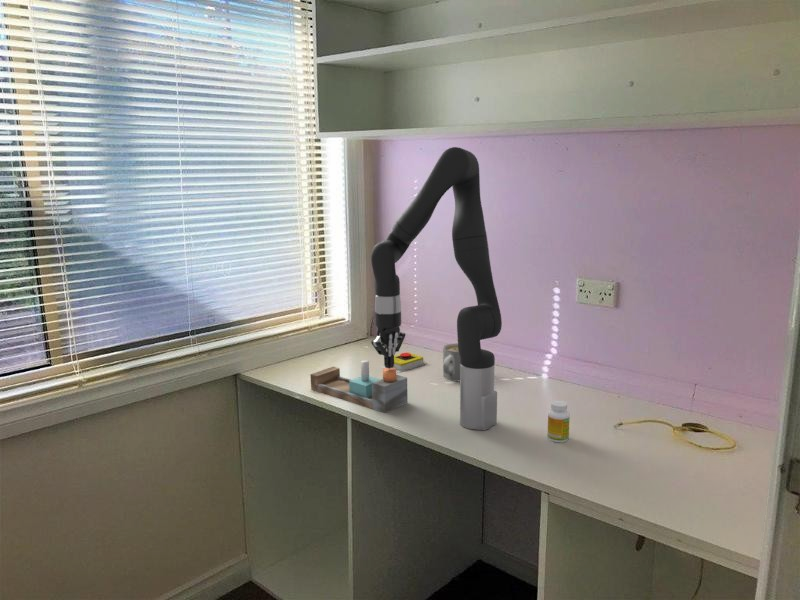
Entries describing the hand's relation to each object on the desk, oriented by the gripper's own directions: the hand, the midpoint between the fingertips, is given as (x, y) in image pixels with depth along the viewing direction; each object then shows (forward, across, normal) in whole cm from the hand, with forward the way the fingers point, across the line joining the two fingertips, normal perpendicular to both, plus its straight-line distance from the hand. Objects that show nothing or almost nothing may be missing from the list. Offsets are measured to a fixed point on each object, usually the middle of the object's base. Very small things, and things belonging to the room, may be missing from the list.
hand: (389, 367), depth 193 cm
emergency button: (+12, -33, -22) cm, 41 cm away
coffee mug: (+12, -33, 0) cm, 35 cm away
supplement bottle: (+12, -10, +49) cm, 52 cm away
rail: (+12, 0, -15) cm, 19 cm away
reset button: (+4, 0, 0) cm, 4 cm away
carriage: (+10, 0, -10) cm, 14 cm away
